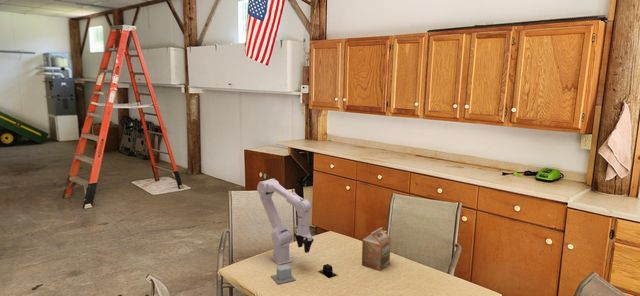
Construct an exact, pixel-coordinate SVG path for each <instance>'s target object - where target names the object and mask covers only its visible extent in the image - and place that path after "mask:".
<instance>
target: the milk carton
mask: <svg viewBox="0 0 640 296" xmlns="http://www.w3.org/2000/svg"><path fill="white" fill-rule="evenodd" d="M391 240H392V239H391V237H390V235H388V233H386V232H385V231H384V230H383V226H382V227H379V228H378V229H376V230H374V231H372V232H371V234H369V235H368V236H366V237H364V238H363V239H362V240H361V242H362V243H361V244H362V245H361V246H362V247H361V249H362V250H361V266H362V267H365V268H367V269H368V268H369V269H371V270H375V271H378V272H381V271H382V270H383V269H385V268H386V267H388V266H390V264H391Z"/></svg>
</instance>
